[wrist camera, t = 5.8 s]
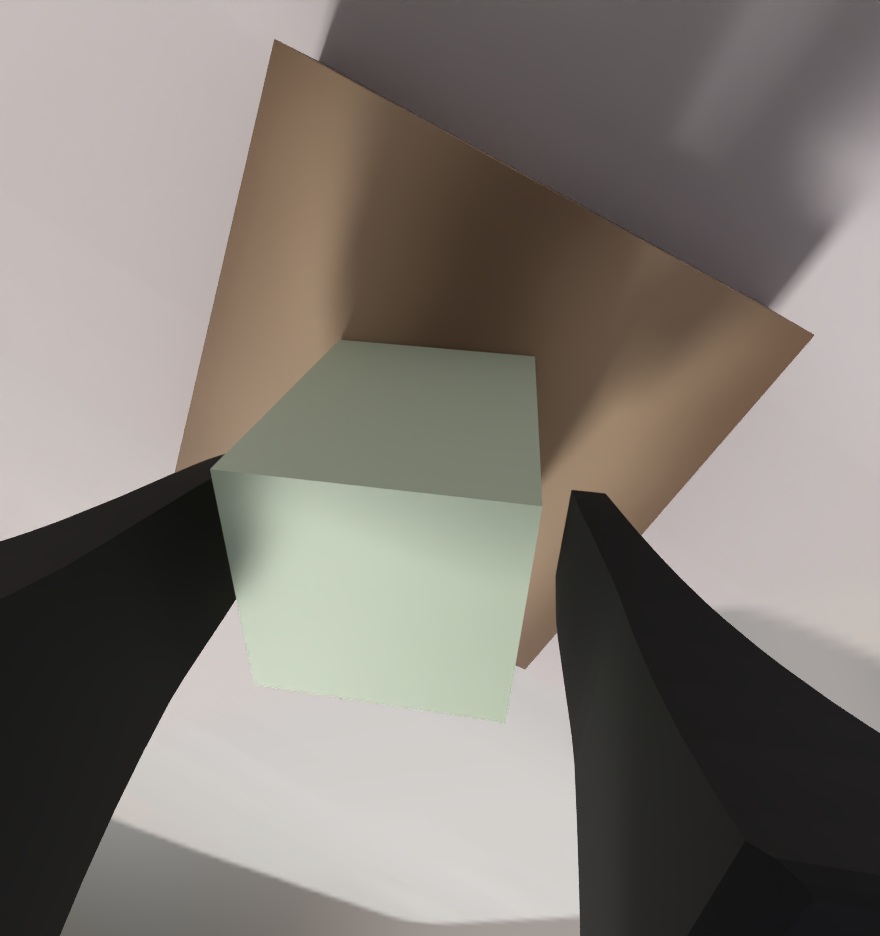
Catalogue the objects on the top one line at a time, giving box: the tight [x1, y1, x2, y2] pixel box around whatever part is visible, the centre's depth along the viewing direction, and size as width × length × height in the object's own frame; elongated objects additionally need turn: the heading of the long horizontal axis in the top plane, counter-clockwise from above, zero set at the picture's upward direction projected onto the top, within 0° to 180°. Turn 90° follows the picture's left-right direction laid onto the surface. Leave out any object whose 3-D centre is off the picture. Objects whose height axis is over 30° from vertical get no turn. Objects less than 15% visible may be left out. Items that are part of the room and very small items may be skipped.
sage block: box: [210, 340, 543, 723], centre depth 11 cm, size 4×4×6 cm
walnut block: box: [175, 39, 814, 669], centre depth 15 cm, size 12×12×3 cm
